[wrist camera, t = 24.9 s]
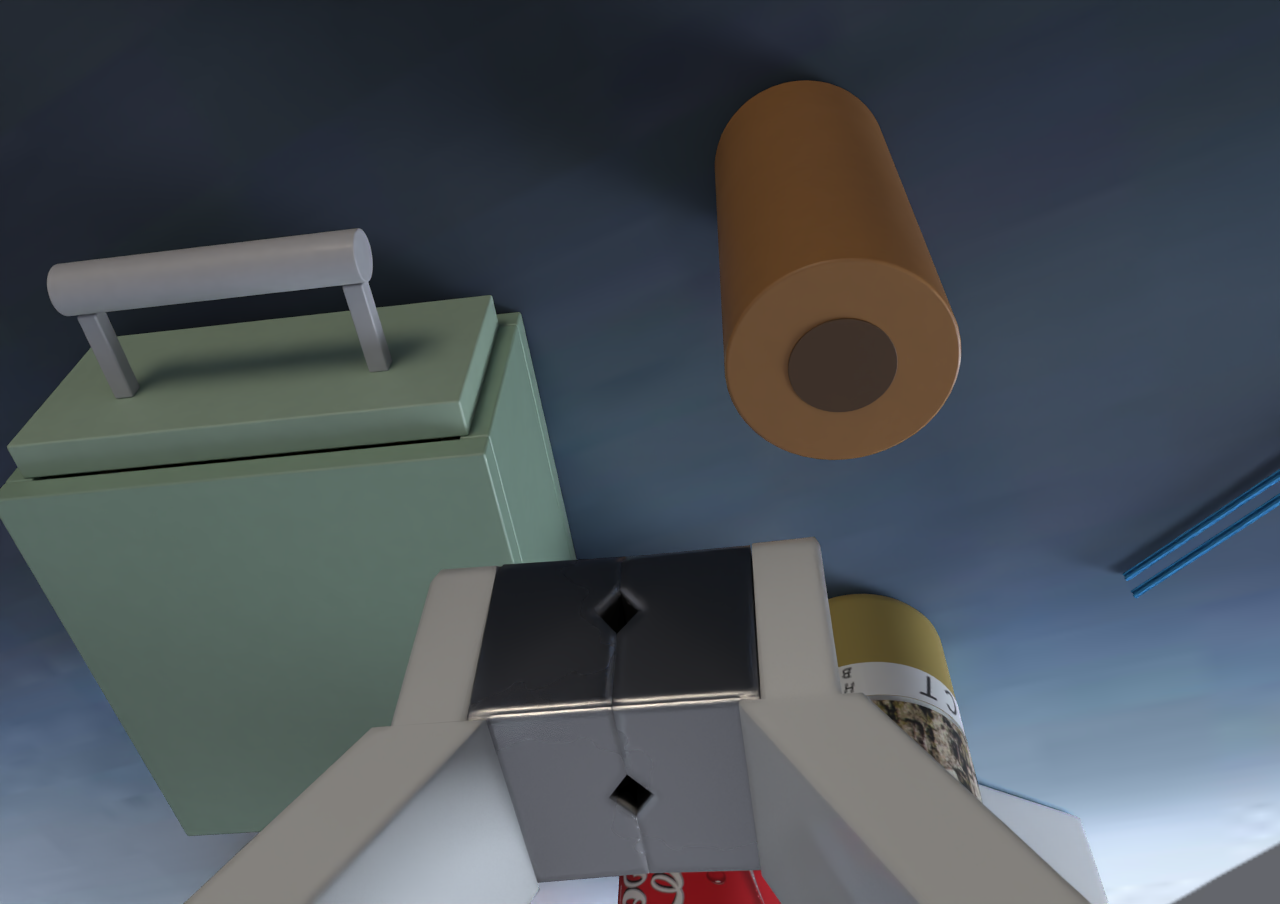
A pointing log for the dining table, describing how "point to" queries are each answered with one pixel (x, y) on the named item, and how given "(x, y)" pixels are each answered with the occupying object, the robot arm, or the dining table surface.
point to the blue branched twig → (1199, 528)
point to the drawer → (253, 363)
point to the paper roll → (826, 279)
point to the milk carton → (1050, 839)
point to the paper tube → (902, 675)
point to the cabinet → (281, 588)
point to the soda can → (696, 888)
